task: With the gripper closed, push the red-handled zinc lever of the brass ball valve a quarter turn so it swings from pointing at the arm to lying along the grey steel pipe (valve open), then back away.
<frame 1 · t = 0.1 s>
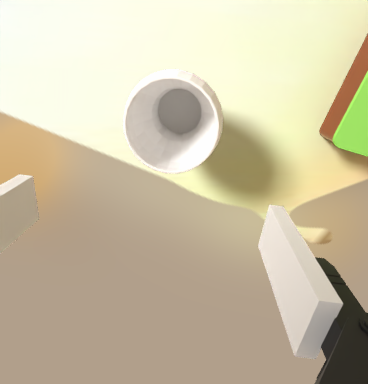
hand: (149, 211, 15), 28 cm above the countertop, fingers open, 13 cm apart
cup: (181, 109, 39), on the countertop
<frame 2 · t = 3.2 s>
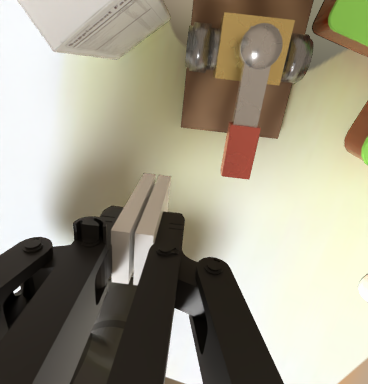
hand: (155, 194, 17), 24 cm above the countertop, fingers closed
supplement box: (122, 6, 33), on the countertop
board: (241, 55, 35), on the countertop
valve: (249, 52, 29), point 6 cm above the countertop
lever: (247, 108, 26), point 12 cm above the countertop, hinge at -90.0°
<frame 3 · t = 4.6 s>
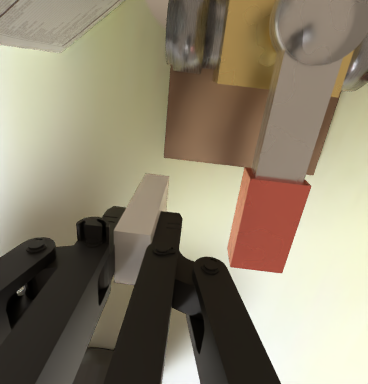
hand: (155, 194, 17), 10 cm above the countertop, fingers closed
board: (259, 46, 22), on the countertop
valve: (279, 36, 16), point 6 cm above the countertop
lever: (284, 145, 13), point 12 cm above the countertop, hinge at -90.0°
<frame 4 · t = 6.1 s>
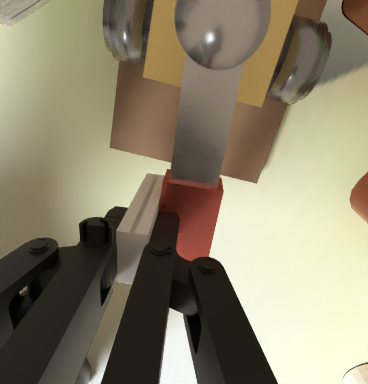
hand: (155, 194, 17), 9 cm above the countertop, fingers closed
board: (212, 47, 21), on the countertop
valve: (215, 38, 16), point 6 cm above the countertop
lever: (198, 148, 13), point 12 cm above the countertop, hinge at -85.0°, touching gripper
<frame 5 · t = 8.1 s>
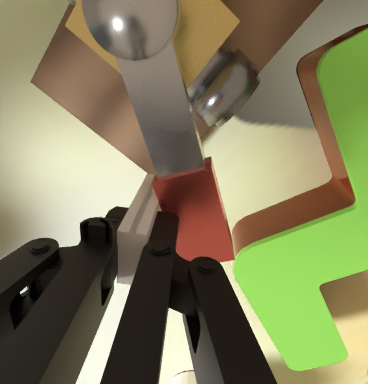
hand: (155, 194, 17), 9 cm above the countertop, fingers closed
cup: (194, 383, 42), on the countertop
board: (170, 38, 21), on the countertop
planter: (311, 213, 28), on the countertop
valve: (158, 29, 16), point 6 cm above the countertop
lever: (173, 138, 13), point 12 cm above the countertop, hinge at -33.9°, touching gripper
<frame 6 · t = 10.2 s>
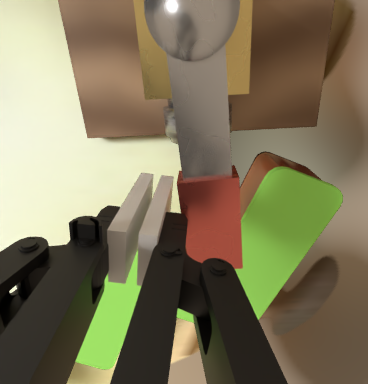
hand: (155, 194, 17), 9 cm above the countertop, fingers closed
board: (195, 42, 21), on the countertop
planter: (178, 252, 31), on the countertop
valve: (194, 32, 16), point 6 cm above the countertop
lever: (204, 142, 13), point 12 cm above the countertop, hinge at 3.5°, touching gripper
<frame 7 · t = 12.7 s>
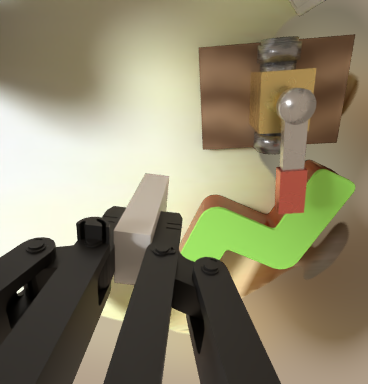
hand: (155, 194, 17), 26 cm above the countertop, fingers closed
board: (268, 96, 38), on the countertop
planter: (244, 220, 48), on the countertop
valve: (280, 100, 33), point 6 cm above the countertop
lever: (292, 154, 30), point 12 cm above the countertop, hinge at 2.2°
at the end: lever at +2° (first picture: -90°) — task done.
